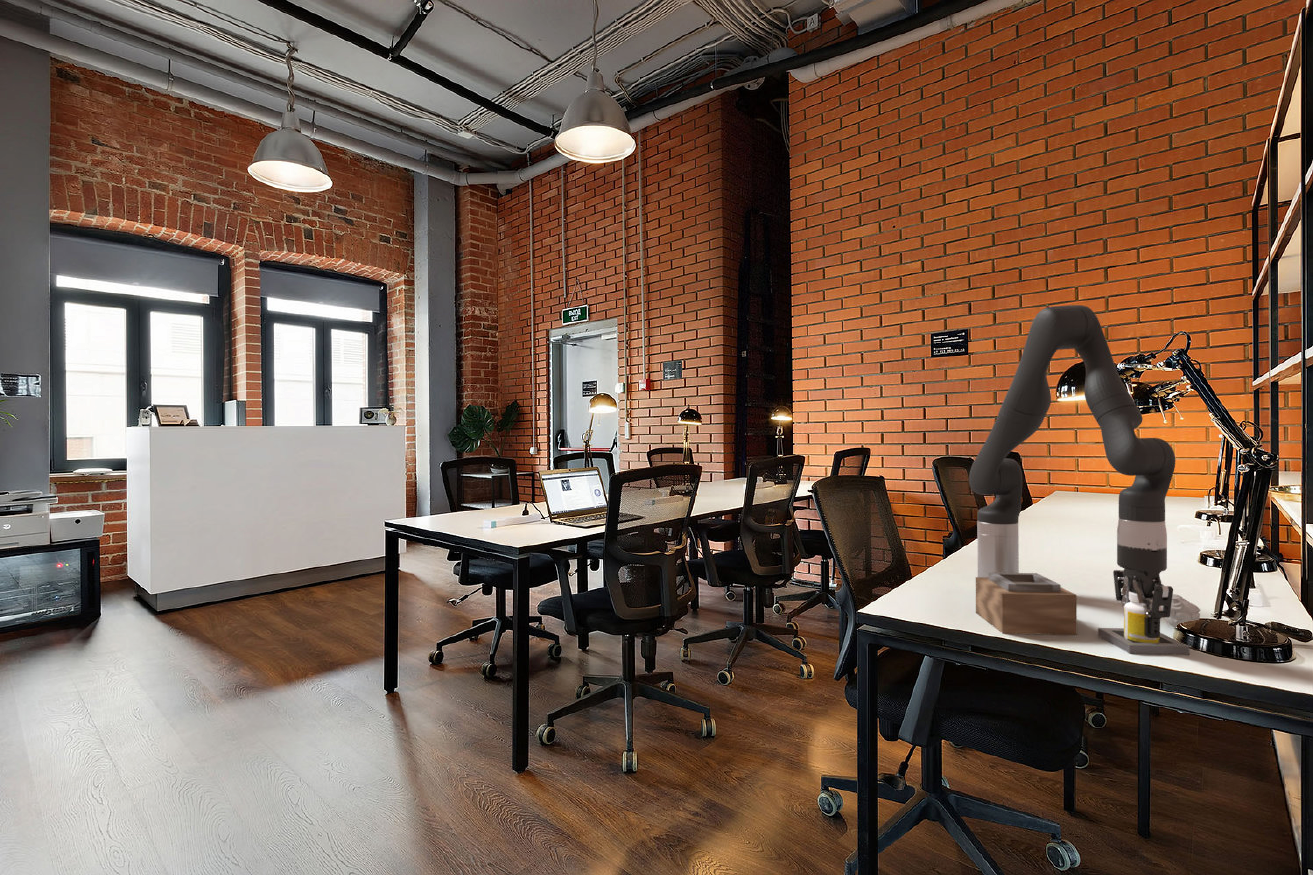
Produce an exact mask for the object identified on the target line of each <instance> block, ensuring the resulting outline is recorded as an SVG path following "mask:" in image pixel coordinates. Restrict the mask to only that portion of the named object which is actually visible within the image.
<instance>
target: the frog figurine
mask: <svg viewBox="0 0 1313 875" xmlns="http://www.w3.org/2000/svg"><path fill="white" fill-rule="evenodd" d="M1163 607H1164V606H1161V608H1162V611H1163ZM1200 617H1201V608H1199V607H1198V606H1197V605H1196V604H1194V603H1192V602H1190V601H1188V600H1187V599H1185V598H1183V597H1182V596H1181V595H1179V594H1174V593H1173V596H1172V603H1171V611H1170V617H1169V618H1165V620H1166V622H1167V623H1168V625H1170V626H1171V627H1172V628H1174V629H1176V627H1177V625H1178V624H1179V623H1184V622H1188V621H1194V620H1198V621H1199V620H1200V619H1201V618H1200Z"/></svg>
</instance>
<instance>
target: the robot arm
mask: <svg viewBox="0 0 1313 875" xmlns="http://www.w3.org/2000/svg"><path fill="white" fill-rule="evenodd" d="M1058 350H1059V351H1060V350H1061V351H1063V350H1074V351H1075V352H1077V354H1078V355H1079V357H1080V358H1081V360H1082V362H1083V363H1084V367H1085V381H1084V398H1085V402H1086V404H1087V407H1088V408H1089V411H1090V412H1091V414H1092V415H1093V418H1094V419H1095V421H1096V423H1097V425H1098V426H1099V428H1100V430H1101V431H1100V432H1101V438H1102V443H1103V448H1104V451H1105V455H1106V456H1105V457H1106V459H1107V461H1108V463H1109V464H1110V465H1111V467H1112V468H1113V469H1114V470H1115V471H1116V472H1118V473H1119V474H1121V475H1124V476H1129V477H1130V476H1131V477H1133V476H1135V477H1134V480H1133V483H1132V484H1131V486H1129V487H1126V488H1123V489H1122V490H1121V491H1120V492H1119V494H1118V520H1117V521H1118V522H1117V526H1116V528H1117V530H1116V563H1117V566H1118V567H1119V568H1122V570H1121V569H1119V570H1118V569H1115V570H1113V572H1112V573H1113V575H1112V576H1113V582H1114V592H1115V599H1116V601H1117V602H1121V606H1122V607H1123V608H1124V605H1125V604H1126V603H1128V602H1130V600H1129V592H1133V593H1135V594H1137V597H1138V601H1139V603H1140V604H1141V605H1142V606H1143V609H1144V613H1145V616H1146V617H1145V636H1146V637H1148V638H1159V637H1160V633H1161V619H1162V618H1163V619H1164V618H1165V619H1166V618H1169V617H1170V611H1171V603H1172V596H1173V594H1174V588H1173V587H1172V586H1171V585H1164V584H1162V581H1161V576H1160V574H1161V573H1162V572H1165V571H1166V570H1167V569H1168V533H1167V527H1166V526H1167V525H1166V497H1167V495H1168V492H1169V489H1170V486H1171V482H1172V479H1173V475H1174V472H1175V468H1176V455H1175V452H1174V449H1173V447H1172V445H1171V444H1170V443H1169V442H1168V441H1166V440H1164V439H1162V438H1159V437H1142V438H1141V437H1138V436H1137V435H1136V431H1135V429H1137V428H1138V427H1140V426H1141V424H1142V422H1143V420H1144V419H1143V415H1142V413H1141V410H1140V409H1139V408H1138V405H1137V404H1136V402H1135V400H1134V399H1133V398H1132V396H1131V394H1130V393H1129V391H1128V389H1127V388H1126V386H1125V384H1124V382H1123V380H1122V379H1121V376H1120V375H1119V372H1118V369H1117V366H1116V364H1115V361H1114V359H1113V356H1112V353H1111V350H1110V347H1109V344H1108V342H1107V339H1106V336H1105V333H1104V331H1103V328H1102V326H1101V323H1100V321H1099V319H1098V317H1097V315H1096V312H1094V310H1093V309H1091V308H1090V307H1088V306H1086V305H1082V304H1081V305H1080V304H1079V305H1078V304H1073V305H1055V306H1047V307H1045V308H1042V309H1041V310H1040V311H1039V312H1038V313H1037V314H1036V315H1035V317H1034V318H1033V321H1032V323H1031V326H1030V328H1029V332H1028V334H1027V337H1026V341H1025V344H1024V348H1023V351H1022V354H1021V357H1020V361H1019V363H1018V365H1017V369H1016V371H1015V374H1014V377H1013V379H1012V382H1011V384H1010V386H1009V388H1008V390H1007V392H1006V394H1005V397H1004V399H1003V401H1002V403H1001V406H1000V408H999V410H998V414H997V417H996V419H995V421H994V423H993V425H992V427H991V430H990V432H989V434H988V436H987V438H986V440H985V441H984V443H983V446H982V447H981V449H980V450H979V452H978V454H977V455H976V457H975V459H974V461H973V462H972V465H971V468H970V471H969V476H968V483H969V487H970V489H971V490H972V491H973V493H976V494H977V495H982V496H995V499H994V500H993V501H992V502H991V503H989V504H988V505H986V506H983V507H981V508H980V509H978V510H977V513H976V514H977V515H976V516H977V517H976V519H977V520H976V521H977V523H976V526H977V529H976V530H977V534H976V535H977V536H976V537H977V577H989V573H1020V570H1019V567H1020V565H1019V564H1020V560H1019V559H1020V557H1019V556H1020V553H1019V550H1020V548H1019V546H1020V545H1019V544H1020V543H1019V537H1020V536H1019V535H1020V534H1019V516H1020V514H1021V511H1022V510H1021V509H1022V494H1023V472H1022V469H1021V466H1020V464H1019V462H1017V461H1016V459H1012V458H1006V457H1007V456H1008V455H1009V454H1010V453H1011V452H1012V451H1013V450H1014V449H1015V448H1017V447H1018V446H1019V445H1021V444H1022V443H1024V442H1025V441H1026V440H1028V439H1029V438H1030V437H1032V436H1033V435H1034V434H1035V433H1036V432H1037V431H1038V429H1039V428H1040V427H1041V426H1042V424H1043V422H1044V420H1045V417H1046V415H1047V414H1048V411H1049V409H1050V407H1051V403H1052V395H1051V389H1050V385H1049V383H1048V378H1047V375H1048V374H1047V372H1048V368H1049V366H1050V364H1051V362H1052V359H1053V357H1054V356H1055V354H1056V352H1057V351H1058ZM1145 598H1153V600H1146V599H1145ZM1149 605H1152V609H1151V610H1150V606H1149ZM1161 606H1164V607H1163V611H1162V608H1161Z"/></svg>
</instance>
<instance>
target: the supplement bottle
mask: <svg viewBox="0 0 1313 875" xmlns="http://www.w3.org/2000/svg"><path fill="white" fill-rule="evenodd" d="M1145 599H1146V600H1153V598H1145ZM1129 600H1130V602H1128V603H1126V604H1125V605H1124V607H1123V628H1124V638H1126V639H1127V640H1129V641H1131V642H1133V643H1160V637H1159V638H1148V637H1146V636H1145V617H1146V616H1145V613H1144V609H1143V606H1142V605H1141V604H1140V603H1139V601H1138V597H1137V594H1135V593H1133V592H1129ZM1149 606H1150V610H1151V609H1152V605H1149Z"/></svg>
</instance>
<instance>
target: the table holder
mask: <svg viewBox="0 0 1313 875" xmlns="http://www.w3.org/2000/svg"><path fill="white" fill-rule="evenodd" d="M1097 631H1098V632H1097V635H1098V636H1099V637H1100V638H1102V639H1104V640H1106V641H1107V642H1109V643H1111V644H1112V645H1114V646H1116V647H1118V648H1119V649H1121V650H1122V651H1125V652H1127V653H1128V654H1133V655H1134V654H1135V655H1136V654H1138V655H1141V654H1142V655H1143V654H1144V655H1145V654H1146V655H1179V656H1180V655H1181V656H1182V655H1183V656H1184V655H1186V656H1187V655H1188V656H1190V646H1188V645H1187V644H1184V643H1182V642H1180V641H1179V640H1176V639H1174V638H1172V637H1170V636H1168V635H1166V634H1164V633H1162V632H1160V643H1133V642H1131V641H1129V640H1127V639H1126V638H1124V627H1120V628H1119V627H1098V628H1097Z"/></svg>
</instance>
